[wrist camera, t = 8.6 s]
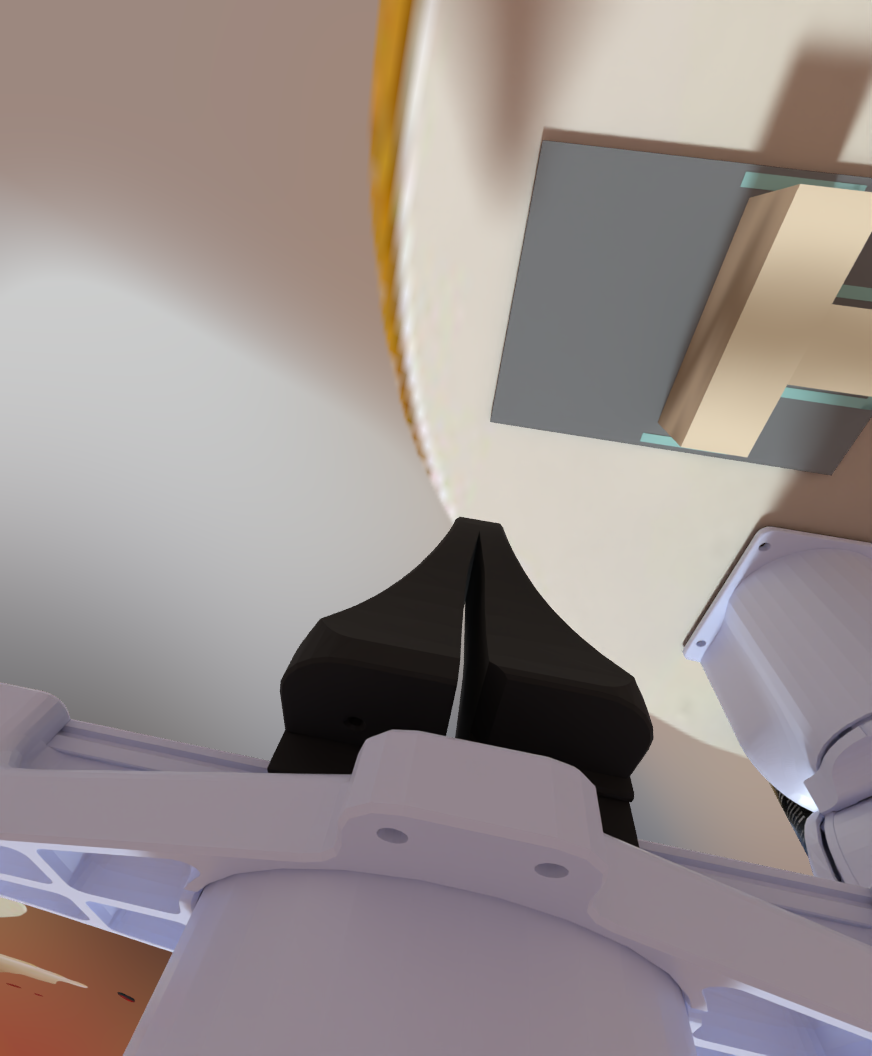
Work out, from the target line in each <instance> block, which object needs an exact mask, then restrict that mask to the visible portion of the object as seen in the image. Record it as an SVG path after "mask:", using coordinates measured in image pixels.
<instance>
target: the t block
mask: <svg viewBox="0 0 872 1056" xmlns="http://www.w3.org/2000/svg"><path fill="white" fill-rule="evenodd" d="M871 232H872V192H865V191H857V190H848V189H840V188H831V187H823V186H814V185H805V184H798V185H794V186H791V187H787V188H783V189H780V190H776V191H773V192H769V193H765V194H762V195H758V196H754V197H751V198H749V200H748V203H747V205H746V208H745V210H744V212H743V215H742V217H741V220H740V222H739V225H738V227H737V230H736V232H735V234H734V237H733V239H732V242H731V244H730V247H729V249H728V252H727V254H726V257H725V259H724V261H723V264H722V266H721V269H720V271H719V274H718V276H717V279H716V281H715V283H714V286H713V288H712V291H711V293H710V296H709V298H708V301H707V303H706V306H705V308H704V310H703V313H702V315H701V318H700V320H699V323H698V325H697V328H696V330H695V332H694V335H693V337H692V340H691V342H690V345H689V347H688V350H687V352H686V355H685V357H684V359H683V362H682V364H681V367H680V369H679V372H678V374H677V377H676V379H675V381H674V384H673V386H672V389H671V391H670V394H669V396H668V399H667V401H666V404H665V406H664V408H663V411H662V413H661V416H660V418H659V421H658V424H659V425H660V426H661V427H662V428H663V429H664V430H665V431H666V432H667V433H668V434H669V435H670V436H671V437H672V438H673V439H674V440H675V441H676V443H677V444H678V445H679V446H680V447H683V448H690V449H696V450H703V451H709V452H715V453H722V454H728V455H735V456H741V457H748V455H749V453H750V451H751V450H752V448H753V446H754V444H755V442H756V440H757V439H758V437H759V435H760V433H761V431H762V430H763V428H764V426H765V424H766V422H767V421H768V419H769V417H770V415H771V413H772V412H773V410H774V408H775V406H776V404H777V402H778V401H779V399H780V397H781V395H782V393H783V392H784V390H785V388H786V386H787V385H794V386H801V387H808V388H815V389H822V390H829V391H836V392H842V393H849V394H856V395H863V396H870V397H872V309H864V308H857V307H849V306H842V305H834V304H832V303H833V301H834V299H835V297H836V296H837V294H838V292H839V290H840V288H841V286H842V285H843V283H844V281H845V279H846V277H847V276H848V274H849V272H850V270H851V268H852V267H853V265H854V263H855V261H856V259H857V258H858V256H859V254H860V252H861V250H862V248H863V247H864V245H865V243H866V241H867V239H868V238H869V236H870V234H871Z"/></svg>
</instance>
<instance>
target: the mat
mask: <svg viewBox="0 0 872 1056" xmlns="http://www.w3.org/2000/svg"><path fill="white" fill-rule="evenodd" d="M798 184H805V185H814V186H823V187H831V188H840V189H848V190H857V191H865V192H872V178H867V177H858V176H850V175H841V174H832V173H823V172H815V171H806V170H797V169H789V168H780V167H771V166H763V165H754V164H745V163H737V162H728V161H719V160H710V159H702V158H693V157H684V156H676V155H667V154H658V153H650V152H641V151H632V150H624V149H615V148H606V147H597V146H589V145H580V144H571V143H563V142H554V141H545V140H543V142H542V147H541V152H540V157H539V163H538V168H537V174H536V179H535V184H534V190H533V195H532V200H531V206H530V211H529V216H528V222H527V227H526V233H525V238H524V243H523V249H522V254H521V259H520V265H519V270H518V275H517V281H516V286H515V292H514V297H513V302H512V308H511V313H510V318H509V324H508V329H507V334H506V340H505V345H504V351H503V356H502V361H501V367H500V372H499V377H498V383H497V388H496V393H495V399H494V404H493V410H492V415H491V420H490V422H494V423H500V424H506V425H513V426H519V427H525V428H532V429H538V430H545V431H551V432H557V433H564V434H570V435H577V436H583V437H589V438H596V439H602V440H609V441H615V442H621V443H628V444H634V445H641V446H647V447H653V448H660V449H666V450H673V451H679V452H685V453H692V454H698V455H704V456H711V457H717V458H724V459H730V460H736V461H743V462H749V463H756V464H762V465H768V466H775V467H781V468H788V469H794V470H800V471H807V472H813V473H820V474H826V475H832V474H833V472H834V471H835V469H836V468H837V467H838V465H839V464H840V462H841V461H842V459H843V458H844V456H845V455H846V453H847V452H848V451H849V449H850V448H851V446H852V445H853V443H854V442H855V440H856V439H857V437H858V436H859V435H860V433H861V432H862V430H863V429H864V427H865V426H866V424H867V423H868V421H869V420H870V418H871V417H872V397H870V396H863V395H856V394H849V393H842V392H836V391H829V390H822V389H815V388H808V387H801V386H794V385H787V386H786V388H785V390H784V392H783V393H782V395H781V397H780V399H779V401H778V402H777V404H776V406H775V408H774V410H773V412H772V413H771V415H770V417H769V419H768V421H767V422H766V424H765V426H764V428H763V430H762V431H761V433H760V435H759V437H758V439H757V440H756V442H755V444H754V446H753V448H752V450H751V451H750V453H749V455H748V457H741V456H735V455H728V454H722V453H715V452H709V451H703V450H696V449H690V448H683V447H680V446H679V445H678V444H677V443H676V441H675V440H674V439H673V438H672V437H671V436H670V435H669V434H668V433H667V432H666V431H665V430H664V429H663V428H662V427H661V426H660V425H659V424H658V421H659V418H660V416H661V413H662V411H663V408H664V406H665V404H666V401H667V399H668V396H669V394H670V391H671V389H672V386H673V384H674V381H675V379H676V377H677V374H678V372H679V369H680V367H681V364H682V362H683V359H684V357H685V355H686V352H687V350H688V347H689V345H690V342H691V340H692V337H693V335H694V332H695V330H696V328H697V325H698V323H699V320H700V318H701V315H702V313H703V310H704V308H705V306H706V303H707V301H708V298H709V296H710V293H711V291H712V288H713V286H714V283H715V281H716V279H717V276H718V274H719V271H720V269H721V266H722V264H723V261H724V259H725V257H726V254H727V252H728V249H729V247H730V244H731V242H732V239H733V237H734V234H735V232H736V230H737V227H738V225H739V222H740V220H741V217H742V215H743V212H744V210H745V208H746V205H747V203H748V200H749V198H751V197H754V196H758V195H762V194H765V193H769V192H773V191H776V190H780V189H783V188H787V187H791V186H794V185H798ZM832 304H834V305H842V306H849V307H857V308H864V309H872V232H871V234H870V236H869V238H868V239H867V241H866V243H865V245H864V247H863V248H862V250H861V252H860V254H859V256H858V258H857V259H856V261H855V263H854V265H853V267H852V268H851V270H850V272H849V274H848V276H847V277H846V279H845V281H844V283H843V285H842V286H841V288H840V290H839V292H838V294H837V296H836V297H835V299H834V301H833V303H832Z"/></svg>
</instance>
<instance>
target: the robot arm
mask: <svg viewBox="0 0 872 1056" xmlns="http://www.w3.org/2000/svg"><path fill="white" fill-rule="evenodd" d="M763 543H766V544H765V545H764V546H762V547H759V546H760V545H761V544H763ZM464 604H465V635H464V669H463V680H462V689H461V697H460V705H459V712H458V721H457V728H456V736H455V738H452V737H447V736H446V733H447V728H448V724H449V719H450V715H451V710H452V706H453V701H454V696H455V691H456V687H457V681H458V673H459V665H460V652H461V633H462V620H463V608H464ZM701 640H702V641H701ZM698 641H700V642H698ZM682 652H683V655H684V657H685V658H686V659H688V660H692V661H698V662H700V663H701V665H702V667H703V669H704V671H705V673H706V675H707V677H708V679H709V682H710V684H711V686H712V688H713V690H714V692H715V694H716V696H717V698H718V700H719V702H720V704H721V706H722V708H723V710H724V712H725V715H726V717H727V719H728V721H729V723H730V725H731V727H732V729H733V731H734V733H735V735H736V737H737V739H738V741H739V743H740V745H741V747H742V749H743V751H744V752H745V754H746V756H747V757H748V758H749V760H750V761H751V762H752V764H753V765H754V766H755V767H756V769H757V770H758V771H759V772H760V773H761V774H762V775H763V776H764V777H765V778H766V779H767V780H768V781H769V782H770V783H771V784H772V785H773V786H774V787H775V788H776V789H777V790H779V791H780V792H781V793H782V794H784V795H785V796H786V797H788V798H789V799H791V800H792V801H794V802H795V803H797V804H799V805H800V806H802V807H804V808H806V809H808V810H810V811H812V812H814V813H812V814H811V815H810V816H809V817H808V818H807V820H806V823H805V842H806V847H807V851H808V857H809V862H810V865H811V869H812V872H813V875H814V876H810V875H805V874H801V873H796V872H791V871H786V870H782V869H777V868H772V867H768V866H763V865H758V864H753V863H749V862H744V861H739V860H735V859H729V858H725V857H720V856H715V855H711V854H706V853H701V852H697V851H692V850H687V849H683V848H678V847H673V846H668V845H664V844H659V843H654V842H650V841H645V840H640V839H637V835H636V830H635V826H634V821H633V817H632V813H631V808H630V804H629V802H632V801H633V799H634V791H633V787H632V783H631V779H630V775H631V774H632V773H633V771H634V770H635V768H636V767H637V765H638V764H639V762H640V761H641V760H642V758H643V757H644V755H645V754H646V752H647V751H648V750H649V747H650V745H651V743H652V740H653V726H652V723H651V720H650V716H649V713H648V710H647V707H646V704H645V702H644V699H643V697H642V694H641V692H640V690H639V688H638V686H637V684H636V681H635V678H634V677H633V676H632V675H630V674H629V673H627V672H626V671H625V670H623V669H622V668H620V667H619V666H618V665H616V664H615V663H613V662H612V661H611V660H609V659H608V658H606V657H605V656H603V655H602V654H601V653H600V652H598V651H597V650H596V649H595V648H593V647H592V646H591V645H590V644H589V643H587V642H586V641H585V640H584V639H582V638H581V637H580V636H579V635H578V634H577V633H576V632H575V631H574V630H572V629H571V628H570V627H569V626H568V625H567V624H566V623H565V622H564V621H563V620H562V619H561V618H560V617H559V616H558V615H557V614H556V613H555V611H554V610H553V609H552V608H551V607H550V606H549V605H548V604H547V602H546V601H545V600H544V599H543V597H542V596H541V595H540V594H539V592H538V591H537V590H536V588H535V587H534V585H533V584H532V582H531V581H530V579H529V578H528V576H527V575H526V573H525V572H524V570H523V568H522V567H521V565H520V563H519V561H518V559H517V558H516V556H515V554H514V552H513V550H512V548H511V546H510V544H509V542H508V539H507V537H506V535H505V532H504V529H503V527H502V526H501V524H499V523H493V522H487V521H481V520H476V519H470V518H464V517H459V518H457V519H456V520H455V522H454V524H453V526H452V527H451V529H450V531H449V532H448V534H447V535H446V536H445V537H444V539H443V540H442V541H441V542H440V543H439V545H438V546H437V547H436V548H435V549H434V550H433V551H432V552H431V553H430V555H428V556H427V558H425V560H423V561H422V562H421V564H419V565H418V566H417V567H416V568H415V569H413V570H412V571H411V572H410V573H409V574H407V575H406V576H405V577H403V578H402V579H401V580H399V581H398V582H396V583H395V584H393V585H392V586H390V587H389V588H388V589H386V590H384V591H383V592H381V593H379V594H378V595H376V596H374V597H372V598H370V599H368V600H366V601H364V602H362V603H360V604H358V605H356V606H353V607H351V608H349V609H346V610H343V611H341V612H338V613H335V614H332V615H330V616H327V617H324V618H321V619H320V620H319V621H318V622H317V624H316V625H315V626H314V628H313V629H312V630H311V631H310V632H309V634H308V635H307V637H306V638H305V639H304V641H303V642H302V643H301V645H300V646H299V648H298V649H297V651H296V653H295V654H294V656H293V658H292V660H291V662H290V664H289V666H288V668H287V670H286V672H285V674H284V675H283V678H282V680H281V684H280V695H281V702H282V709H283V716H284V723H285V729H286V730H285V732H284V734H283V736H282V738H281V740H280V742H279V744H278V746H277V749H276V751H275V753H274V755H273V757H272V759H271V761H267V760H262V759H258V758H253V757H248V756H244V755H239V754H234V753H229V752H225V751H220V750H215V749H210V748H205V747H200V746H196V745H192V744H187V743H182V742H178V741H172V740H168V739H163V738H159V737H154V736H149V735H145V734H140V733H135V732H130V731H126V730H121V729H116V728H111V727H107V726H102V725H97V724H93V723H88V722H83V721H78V720H74V719H70V715H69V713H68V710H67V708H66V706H65V705H64V703H63V702H62V701H61V700H60V699H58V698H57V697H56V696H54V695H52V694H50V693H47V692H44V691H40V690H35V689H30V688H25V687H21V686H16V685H11V684H6V683H0V897H2V898H6V899H9V900H13V901H16V902H19V903H22V904H26V905H29V906H32V907H35V908H38V909H42V910H45V911H48V912H51V913H54V914H57V915H60V916H64V917H67V918H70V919H73V920H76V921H79V922H82V923H85V924H88V925H91V926H94V927H97V928H100V929H103V930H107V931H110V932H112V933H116V934H119V935H122V936H125V937H128V938H131V939H134V940H137V941H140V942H143V943H146V944H149V945H152V946H155V947H158V948H161V949H165V950H168V951H171V952H173V953H172V956H171V958H170V960H169V962H168V964H167V966H166V968H165V970H164V972H163V974H162V976H161V978H160V981H159V983H158V984H157V986H156V988H155V991H154V993H153V995H152V997H151V999H150V1001H149V1003H148V1005H147V1007H146V1009H145V1012H144V1013H143V1015H142V1017H141V1019H140V1021H139V1024H138V1025H137V1028H136V1030H135V1032H134V1034H133V1036H132V1038H131V1040H130V1042H129V1044H128V1046H127V1048H126V1050H125V1053H124V1054H123V1056H872V543H868V542H862V541H856V540H850V539H844V538H838V537H832V536H825V535H819V534H813V533H807V532H801V531H795V530H789V529H783V528H777V527H764V528H762V529H760V530H759V531H758V532H757V533H756V534H755V536H754V537H753V539H752V541H751V542H750V544H749V545H748V547H747V549H746V550H745V552H744V553H743V555H742V556H741V558H740V560H739V561H738V563H737V564H736V566H735V568H734V569H733V571H732V572H731V574H730V575H729V577H728V579H727V580H726V582H725V583H724V585H723V587H722V588H721V590H720V591H719V593H718V594H717V596H716V598H715V599H714V601H713V602H712V604H711V606H710V607H709V609H708V610H707V612H706V613H705V615H704V617H703V618H702V620H701V621H700V623H699V625H698V626H697V628H696V629H695V631H694V633H693V634H692V636H691V637H690V639H689V640H688V642H687V644H686V645H685V647H684V648H683V651H682Z"/></svg>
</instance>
